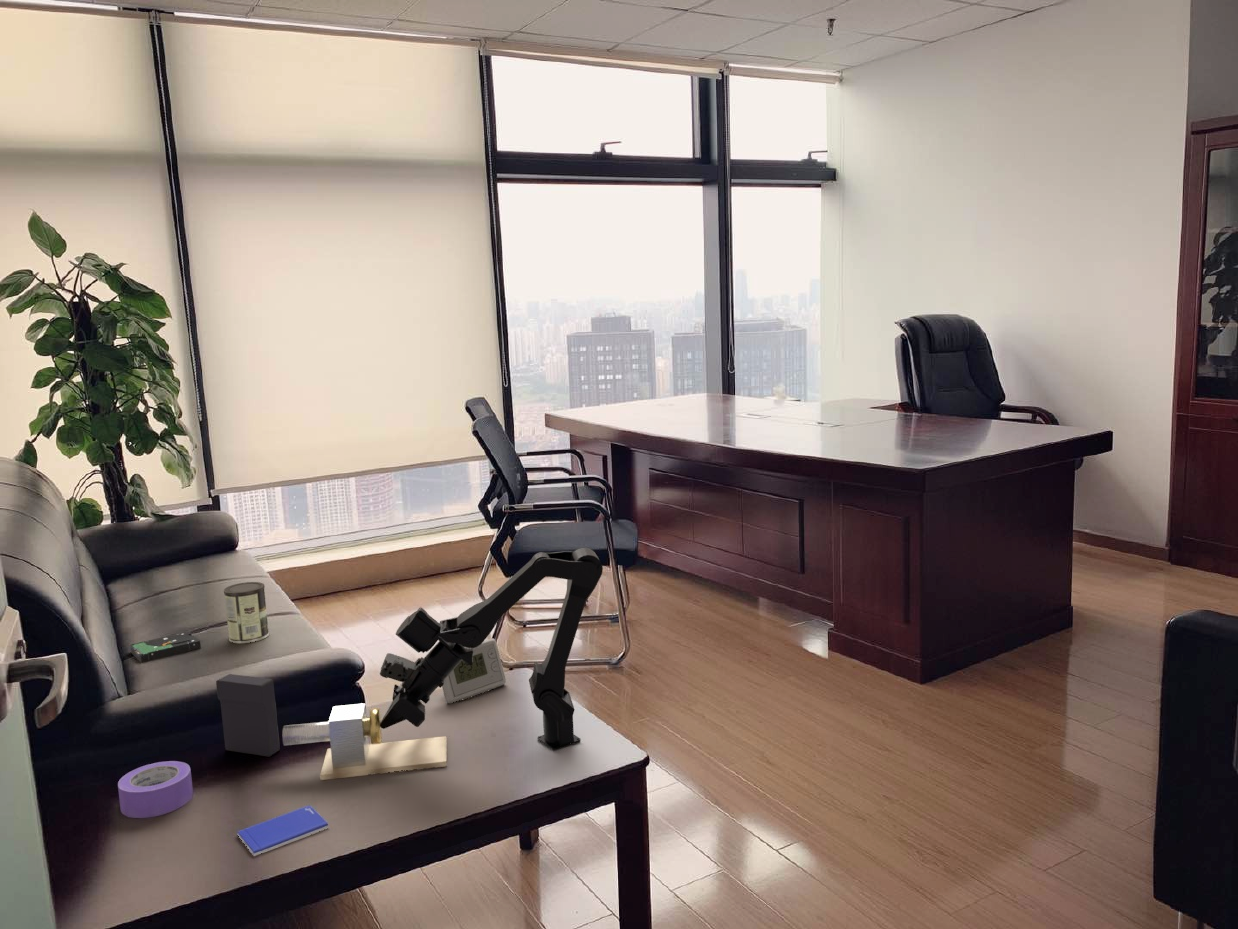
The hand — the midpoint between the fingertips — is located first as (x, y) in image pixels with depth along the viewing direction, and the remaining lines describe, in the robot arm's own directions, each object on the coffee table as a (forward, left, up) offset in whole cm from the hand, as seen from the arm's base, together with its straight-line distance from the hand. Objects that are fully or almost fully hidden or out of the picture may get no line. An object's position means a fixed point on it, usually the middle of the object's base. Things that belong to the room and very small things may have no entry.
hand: (381, 726), depth 181 cm
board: (0, 0, -7) cm, 7 cm away
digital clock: (+19, -28, -7) cm, 35 cm away
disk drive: (+96, +22, -7) cm, 99 cm away
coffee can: (+93, +2, -7) cm, 93 cm away
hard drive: (-14, +23, -8) cm, 28 cm away
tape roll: (+11, +38, -7) cm, 40 cm away
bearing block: (+3, +6, -6) cm, 8 cm away
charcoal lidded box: (+21, +19, -7) cm, 29 cm away
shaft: (+4, +8, -3) cm, 10 cm away
